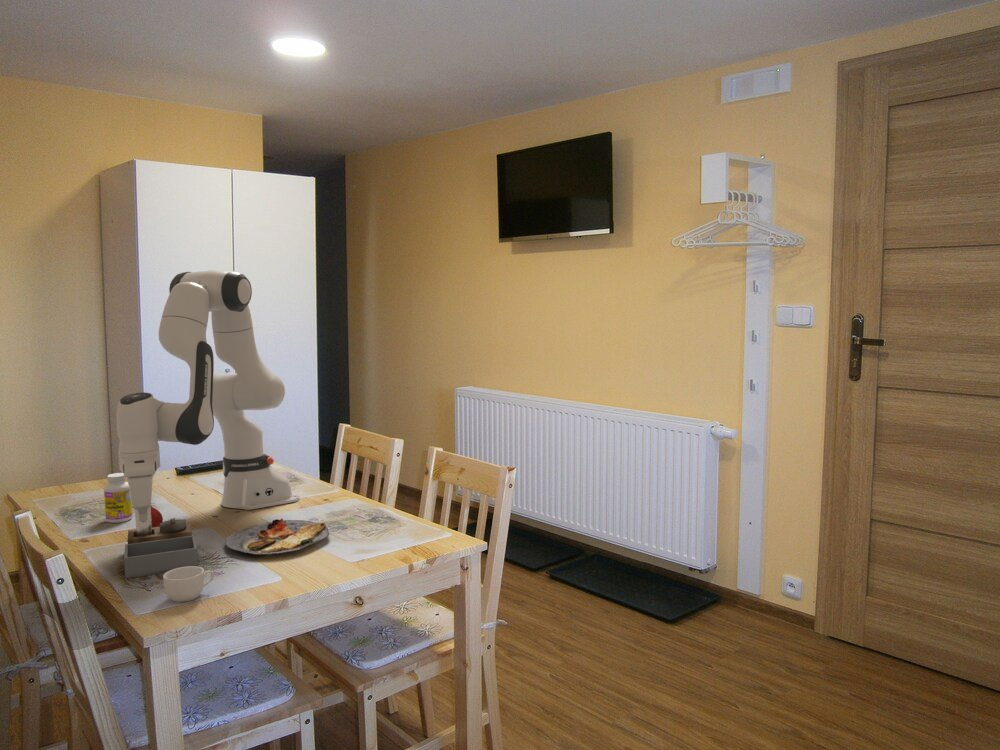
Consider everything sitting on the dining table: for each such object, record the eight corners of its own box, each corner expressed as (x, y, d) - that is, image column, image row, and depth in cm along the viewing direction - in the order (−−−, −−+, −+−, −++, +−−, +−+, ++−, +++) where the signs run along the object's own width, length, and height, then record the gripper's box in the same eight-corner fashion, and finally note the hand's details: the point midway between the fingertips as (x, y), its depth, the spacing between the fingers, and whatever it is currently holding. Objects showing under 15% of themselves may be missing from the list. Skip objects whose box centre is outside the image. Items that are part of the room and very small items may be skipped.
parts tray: (195, 553, 182) (194, 535, 182) (198, 567, 173) (197, 548, 172) (126, 563, 176) (125, 544, 175) (125, 578, 166) (124, 558, 166)
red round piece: (139, 532, 198) (138, 503, 197) (163, 529, 200) (162, 500, 200) (138, 539, 193) (136, 508, 192) (163, 536, 195) (161, 506, 194)
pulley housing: (191, 541, 191) (189, 512, 190) (192, 551, 183) (191, 521, 183) (129, 550, 185) (127, 520, 184) (128, 560, 177) (126, 529, 177)
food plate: (279, 522, 206) (279, 509, 206) (347, 535, 196) (346, 522, 195) (206, 552, 184) (205, 538, 184) (277, 569, 174) (277, 554, 173)
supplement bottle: (101, 523, 206) (97, 477, 205) (113, 516, 213) (110, 471, 211) (125, 523, 206) (122, 477, 205) (137, 516, 213) (134, 471, 211)
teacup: (172, 609, 150) (170, 583, 150) (159, 597, 156) (157, 572, 155) (221, 595, 157) (220, 570, 156) (207, 584, 163) (206, 560, 162)
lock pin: (153, 547, 185) (150, 499, 184) (153, 551, 182) (150, 502, 180) (137, 549, 183) (134, 501, 182) (137, 553, 180) (134, 504, 179)
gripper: (126, 454, 188) (129, 508, 190) (124, 472, 170) (128, 531, 171) (153, 451, 191) (157, 504, 192) (154, 469, 172) (158, 527, 174)
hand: (143, 517), depth 182 cm, fingers closed on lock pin, 3 cm apart
